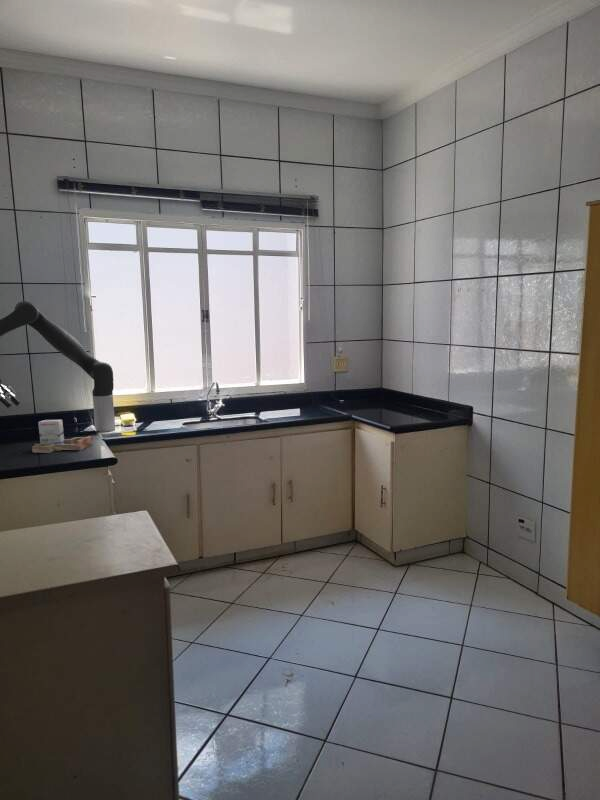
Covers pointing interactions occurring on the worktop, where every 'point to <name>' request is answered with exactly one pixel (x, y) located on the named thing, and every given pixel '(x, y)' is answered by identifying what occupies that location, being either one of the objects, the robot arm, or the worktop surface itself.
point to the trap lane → (64, 445)
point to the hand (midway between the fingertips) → (14, 405)
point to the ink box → (51, 432)
